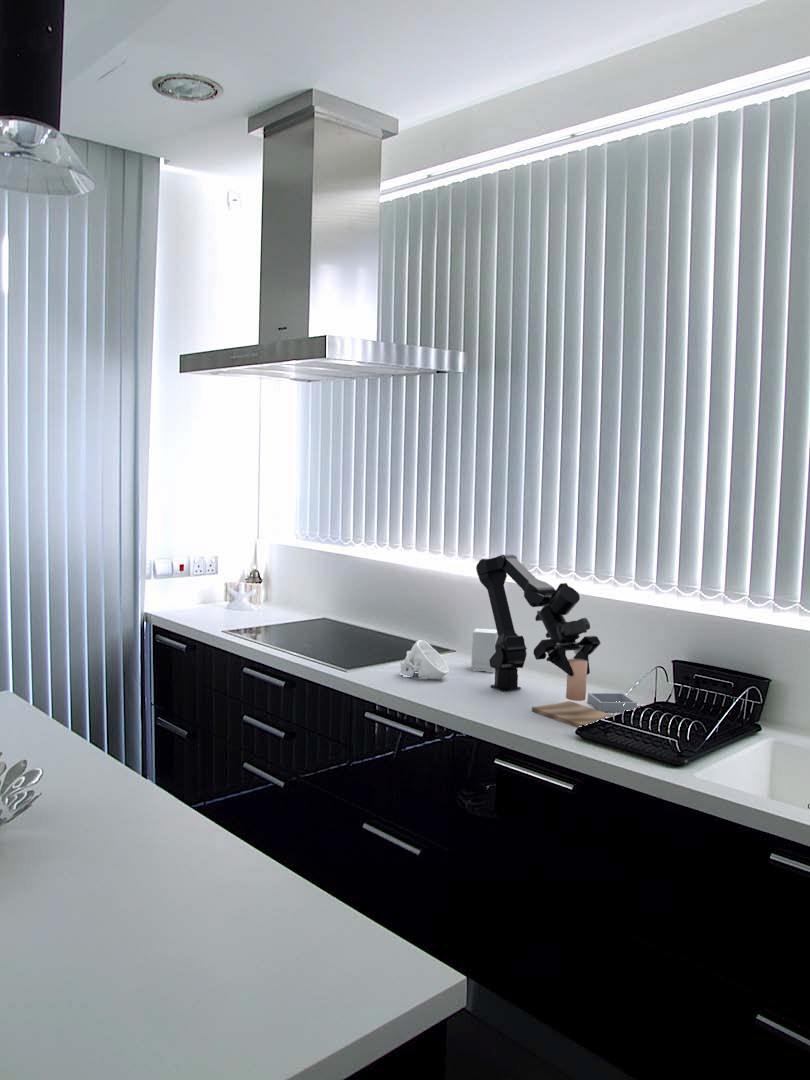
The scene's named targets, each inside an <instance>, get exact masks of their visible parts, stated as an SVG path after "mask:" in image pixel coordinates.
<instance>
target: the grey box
mask: <svg viewBox="0 0 810 1080" xmlns="http://www.w3.org/2000/svg"><path fill="white" fill-rule="evenodd" d="M616 701H620V702H616ZM586 702H587V703H588V704H589V705H591V706H592V707H593V708H594V709H596V710H599V711H602V712H605V713H609V712H611V713H614V712H615V713H616V712H617V713H624V712H623V711H624V710H632V709H634V708H637V709H638V703H637V701H635V700H634V699H632V698H631V697H630V696H628V695H626V694H625V693H623V692H587V701H586ZM624 703H625V704H626V705H624V706H623V704H624Z"/></svg>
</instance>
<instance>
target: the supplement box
mask: <svg viewBox="0 0 810 1080" xmlns="http://www.w3.org/2000/svg"><path fill="white" fill-rule="evenodd" d="M497 638H498V633H497V629H490V628H475V629H474V630H473V632H472V646H471V650H472V651H471V664H470V665H471V667H470V668H471V669H470V671H471V670H475V671H474V672H477V671H486V672H485V673H489V672H494V673H495V668H492V667H490V661H489V660H490V658H491V657H492V656H493V655H494V653H495V652H496V650H495V644H496V641H497Z"/></svg>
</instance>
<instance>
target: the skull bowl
mask: <svg viewBox="0 0 810 1080" xmlns="http://www.w3.org/2000/svg"><path fill="white" fill-rule="evenodd" d="M399 664H400V672H399V673H402V674H404V675H407V676H410V677H411V678H412V677H413V676H414V675H415V674H414V673H415V672H418V674H417V673H416V675H417V677H419V678H426V679H428V680H434V679H435V680H436V679H439V680H441V679H442V678H444V677H446V676H447V674H449V672H450V669H449V666H448V664H447V662H446V660H445V659H444V657H443V656H441V654H440V652H438V651H437V650H436V649H435V648H434V647H432V645H430V644H429V643H428V642H427V641H425V640H422V639H420V640H417V641H416V642H415V643H414V644H413V645H412V647H411V650H407V651H406V657H405V658H404V659H403V660H401V662H400V663H399ZM440 678H441V679H440Z"/></svg>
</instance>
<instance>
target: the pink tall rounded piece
mask: <svg viewBox="0 0 810 1080" xmlns="http://www.w3.org/2000/svg"><path fill="white" fill-rule="evenodd" d="M567 659H568V658H567ZM568 661H569V663H570V666H571V668H572V670H573V673H574V675H573V676H569V675H568V674H567V673H566V674H567V675H566V689H565V690H566V693H565V699H567V700H568V701H576V702H582V701H585V700H586V696H587V677H588V675H587V663H588V661H587V660H583V659H574V658H569V659H568Z"/></svg>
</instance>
